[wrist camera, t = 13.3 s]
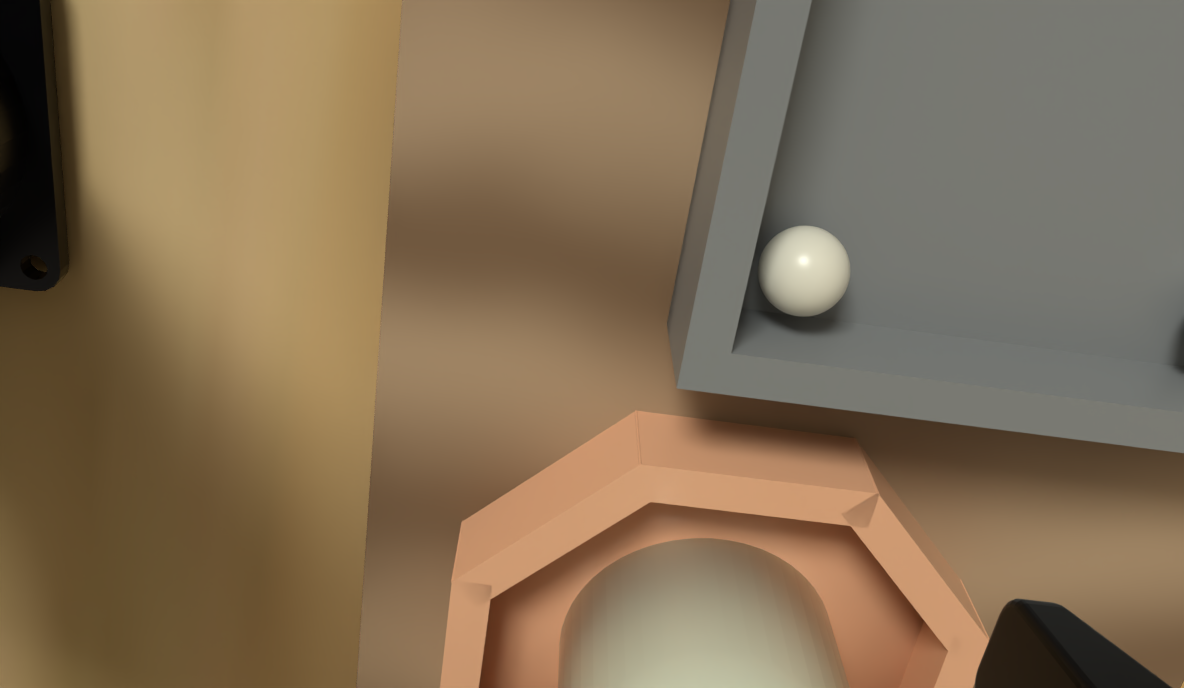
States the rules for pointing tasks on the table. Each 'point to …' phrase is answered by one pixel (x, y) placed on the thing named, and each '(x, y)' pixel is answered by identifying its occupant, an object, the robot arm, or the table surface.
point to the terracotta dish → (720, 511)
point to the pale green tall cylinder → (699, 622)
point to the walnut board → (653, 334)
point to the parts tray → (944, 215)
